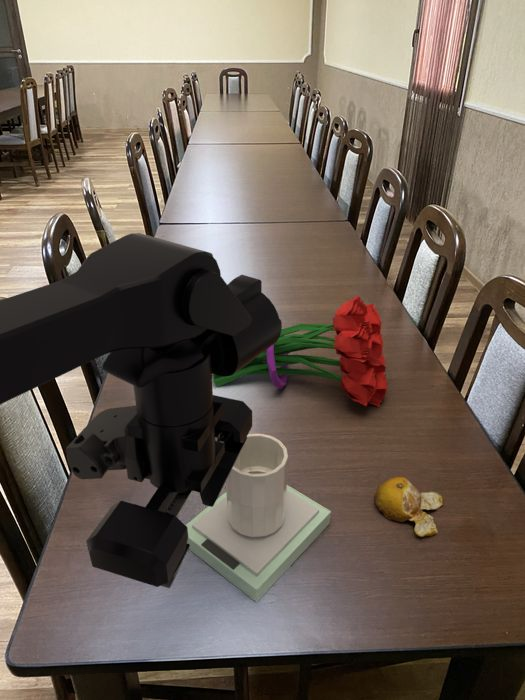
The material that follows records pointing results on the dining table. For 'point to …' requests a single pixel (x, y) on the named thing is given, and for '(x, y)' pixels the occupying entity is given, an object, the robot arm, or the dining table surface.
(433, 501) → the fruit
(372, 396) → the bouquet
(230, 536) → the scale
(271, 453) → the cream faceted cup
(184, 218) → the dining table surface
